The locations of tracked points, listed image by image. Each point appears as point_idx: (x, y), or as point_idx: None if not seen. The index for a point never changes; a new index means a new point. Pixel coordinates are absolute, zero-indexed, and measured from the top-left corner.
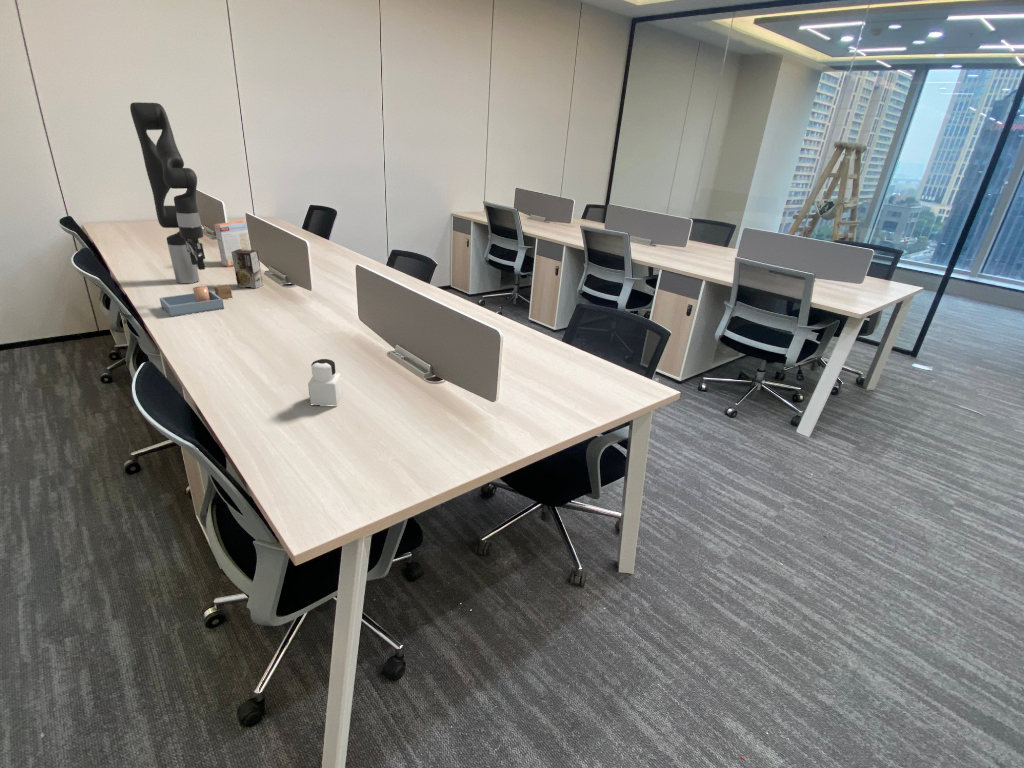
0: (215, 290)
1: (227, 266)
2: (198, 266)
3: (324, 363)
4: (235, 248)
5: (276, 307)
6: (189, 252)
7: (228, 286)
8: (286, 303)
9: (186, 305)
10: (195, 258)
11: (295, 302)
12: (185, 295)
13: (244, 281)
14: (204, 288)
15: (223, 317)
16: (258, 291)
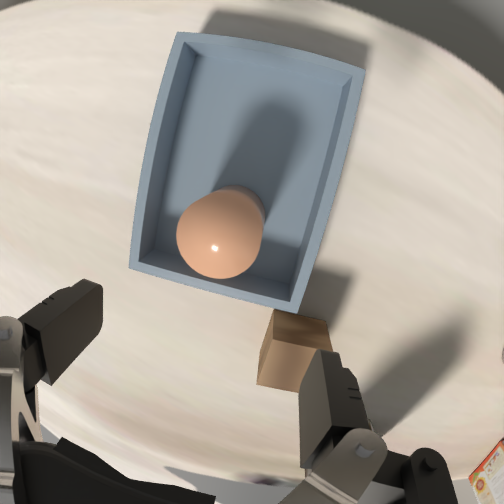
0: (315, 337)
1: (501, 441)
2: (68, 292)
3: None
4: (499, 485)
5: (79, 360)
6: (341, 463)
7: (272, 384)
8: (101, 395)
9: (158, 103)
10: (306, 424)
11: (100, 409)
12: (326, 184)
13: None
14: (191, 250)
15: (66, 194)
16: (270, 432)
